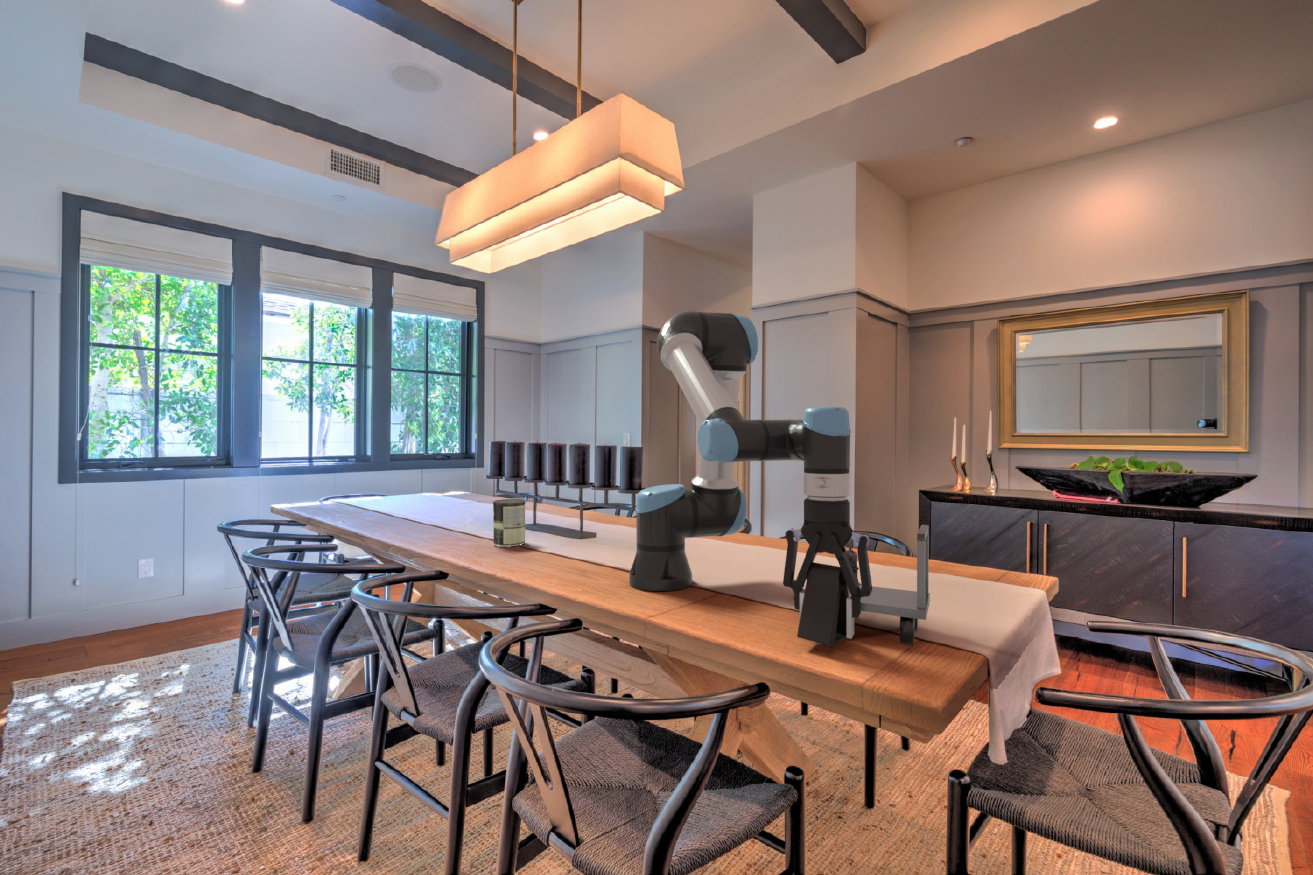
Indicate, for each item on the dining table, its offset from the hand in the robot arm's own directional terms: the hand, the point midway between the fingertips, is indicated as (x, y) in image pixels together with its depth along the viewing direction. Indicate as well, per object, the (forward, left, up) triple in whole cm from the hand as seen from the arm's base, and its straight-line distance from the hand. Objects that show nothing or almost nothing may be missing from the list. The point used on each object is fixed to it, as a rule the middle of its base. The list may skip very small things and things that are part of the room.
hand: (826, 631), depth 99 cm
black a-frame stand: (0, 0, -1) cm, 1 cm away
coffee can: (-110, +43, -3) cm, 118 cm away
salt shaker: (-1, +28, -3) cm, 28 cm away
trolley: (+6, +12, -2) cm, 13 cm away
